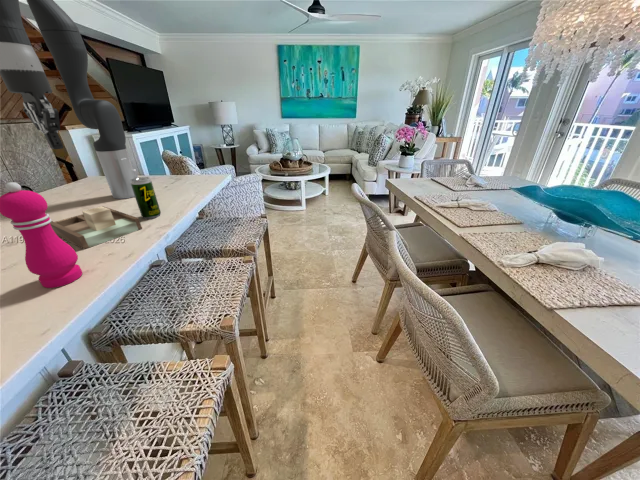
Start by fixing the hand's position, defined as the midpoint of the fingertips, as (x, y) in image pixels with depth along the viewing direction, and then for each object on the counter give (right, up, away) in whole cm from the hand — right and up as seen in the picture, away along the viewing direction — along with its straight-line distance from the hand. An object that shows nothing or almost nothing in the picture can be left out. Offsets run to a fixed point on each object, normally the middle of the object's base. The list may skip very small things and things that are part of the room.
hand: (57, 148), depth 68 cm
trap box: (+5, -21, +7) cm, 22 cm away
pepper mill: (+15, -32, -14) cm, 38 cm away
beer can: (+14, -16, +16) cm, 27 cm away
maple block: (+9, -20, +3) cm, 22 cm away
